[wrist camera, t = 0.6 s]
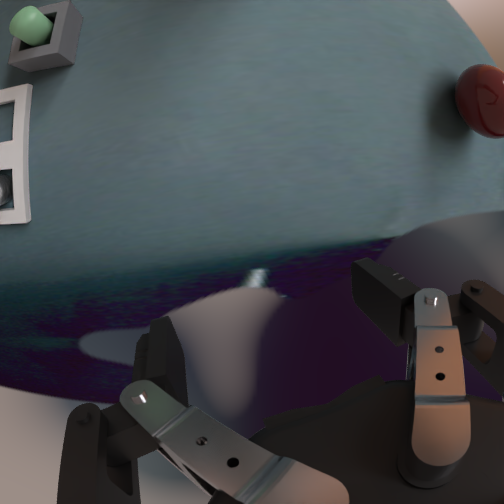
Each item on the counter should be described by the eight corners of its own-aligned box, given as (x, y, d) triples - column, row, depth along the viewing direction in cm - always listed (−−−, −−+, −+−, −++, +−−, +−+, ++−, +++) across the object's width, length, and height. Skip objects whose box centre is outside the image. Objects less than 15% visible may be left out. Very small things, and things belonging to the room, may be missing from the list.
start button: (34, 26, 21) (13, 10, 16) (59, 20, 22) (41, 2, 16) (28, 51, 22) (6, 39, 17) (53, 46, 23) (33, 31, 18)
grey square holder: (37, 26, 24) (19, 12, 18) (83, 17, 25) (69, 0, 20) (28, 72, 26) (8, 63, 21) (74, 64, 28) (57, 52, 22)
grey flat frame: (-16, 97, 25) (-22, 96, 23) (32, 85, 27) (27, 83, 25) (-16, 222, 31) (-22, 225, 29) (31, 220, 33) (26, 223, 31)
